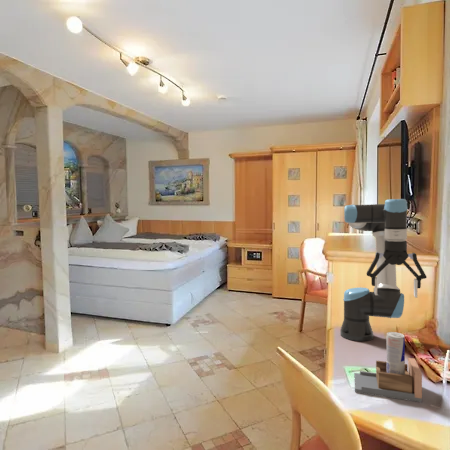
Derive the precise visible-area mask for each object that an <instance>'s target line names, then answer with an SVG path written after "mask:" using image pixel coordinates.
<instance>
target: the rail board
mask: <svg viewBox="0 0 450 450" xmlns="http://www.w3.org/2000/svg"><path fill="white" fill-rule="evenodd" d="M407 359H408V360H407V361H408V364H407V370H408V373H409V376H412V393H407V392H400V391H393V390H386V389H379V388H378V384H377V379H376V372H370V371H362V370H361V371H360V370H359V372H354V374H353V375H354V378H355V379H354V392H355V393H358V394H365V395H372V396H379V397H384V398H392V399H398V400H405V401H412V402H418V403H422V402H423V374H422V371H421V369H420V367H419V365H418V362H417V361H416V358H413V357H412V358H410V357H408V358H407Z"/></svg>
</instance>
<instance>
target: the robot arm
mask: <svg viewBox="0 0 450 450" xmlns="http://www.w3.org/2000/svg"><path fill="white" fill-rule="evenodd" d="M343 208H344V210H343V211H344V212H343V213H344V217H343V218H344V222H345V223H346V224H348V226H350V227H351V228H352V229H355V230H358V231H362V232H372V233H371V234H372V236H373V237H375V255H374V259H373V261H372V262H371V264H370V266H369V268H368V269H367V271H366V276H368V277H370V278H371V286H372V287H374V288H373V291H370V290H369V288H367V287H352V288H348V289H346V290H344V292H343V321H342V324H341V327H340V329H339V330H340V333H339V334H340V336H341V337H342V338H344V339H346V340H350V341H355V342H367V341H371V340H373V339H374V332H373V328H372V326H371V322H370V317H377V318H378V317H379V318H387V319H400V318H401V317H402V316H403V312H404V306H405V293H402V292H401V289H400V287H399V286H398V285H397V266H401V265H404V266H405V268H407V270H408V271H409V272H410V273H411V274H412V275H413V276H414V277H415V278H413V296H414V298H415V299H416V298H418V289H421V288H422V286H421V285H422V283H421V282H422V280H423V279H427V275H426V273H425V271H424V269H423V268H422V265H421V263H420V262H419V260H418V257H417V253H416V252H412V253H408V245H407V244H408V242H407V240H408V238H407V237H408V233H407V232H408V201H407V200H406V198H391V199H389V198H387V199H386V200H385V201H384V203H381V204H380V203H377V204H375V203H373V204H348V205H347V204H346V205H345V206H344V207H343ZM408 258H410V259H411V260H412V261H413V264H414V265H415V267H416V268H417V270H418V272H419V274H420V275H419V274H418V273H417V271H415V270H414V268H413V267H412V266H411V265H410V264H409V263H408V262H407V261H406V260H407V259H408ZM375 267H376V269H375V270H374V268H375Z"/></svg>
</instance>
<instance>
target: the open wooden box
mask: <svg viewBox="0 0 450 450" xmlns="http://www.w3.org/2000/svg"><path fill="white" fill-rule="evenodd" d="M375 373H376V379H377V384H378V388H379V389H386V390H393V391H400V392H407V393H412V376H409V373H408V364H407V363H405V375H401V374H393V373H387V361H383V360H375Z"/></svg>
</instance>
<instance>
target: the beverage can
mask: <svg viewBox="0 0 450 450" xmlns="http://www.w3.org/2000/svg"><path fill="white" fill-rule="evenodd" d="M385 339H386V362H387V373H393V374H401V375H405V364H406V363H405V358H406V354H405V353H406V348H405V346H406V341H405V340H406V337H405V335H404V334H403V333H400V332H395V331H389V332H386V338H385Z"/></svg>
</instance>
